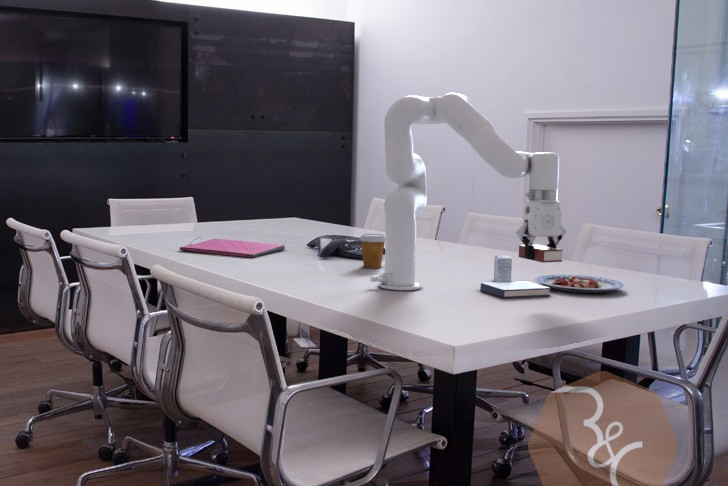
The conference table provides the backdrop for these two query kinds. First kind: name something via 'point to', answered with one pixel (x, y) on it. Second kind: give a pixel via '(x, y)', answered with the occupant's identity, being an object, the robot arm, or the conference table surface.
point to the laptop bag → (233, 248)
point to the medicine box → (502, 268)
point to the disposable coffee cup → (372, 249)
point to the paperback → (543, 253)
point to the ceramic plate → (579, 283)
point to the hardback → (515, 289)
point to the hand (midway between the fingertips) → (540, 258)
